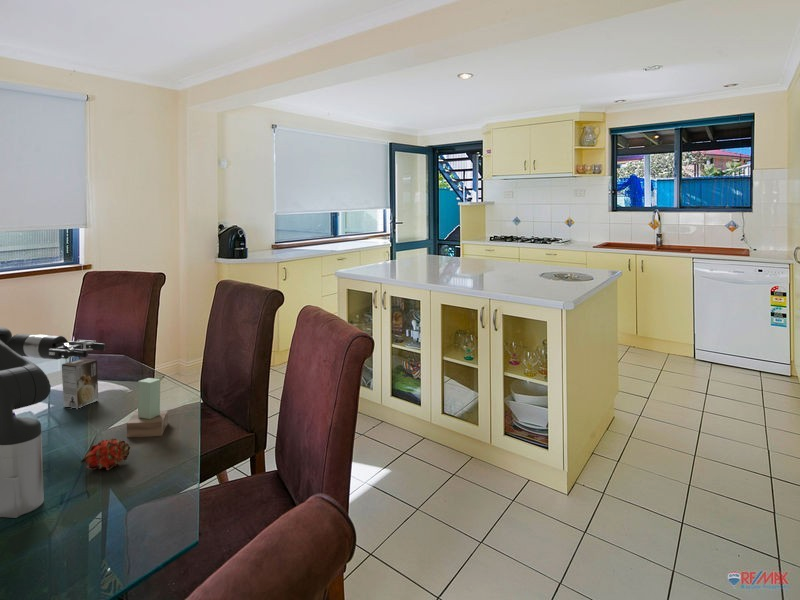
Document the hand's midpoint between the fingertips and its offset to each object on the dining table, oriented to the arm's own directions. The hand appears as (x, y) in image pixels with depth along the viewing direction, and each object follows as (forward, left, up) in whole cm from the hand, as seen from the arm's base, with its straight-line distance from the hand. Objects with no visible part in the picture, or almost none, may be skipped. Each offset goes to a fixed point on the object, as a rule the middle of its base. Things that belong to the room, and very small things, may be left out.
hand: (96, 350), depth 152 cm
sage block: (+1, -16, -21) cm, 27 cm away
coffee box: (+18, +18, -26) cm, 36 cm away
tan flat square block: (+1, -16, -26) cm, 31 cm away
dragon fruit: (-24, -18, -26) cm, 40 cm away
